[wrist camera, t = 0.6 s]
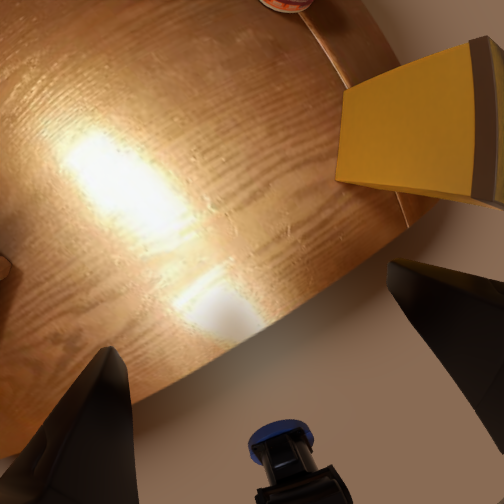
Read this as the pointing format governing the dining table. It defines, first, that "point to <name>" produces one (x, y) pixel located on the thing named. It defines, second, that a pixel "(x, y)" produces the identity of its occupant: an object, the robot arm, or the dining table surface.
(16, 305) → the dining table surface
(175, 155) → the dining table surface
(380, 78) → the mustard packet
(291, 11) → the pill bottle
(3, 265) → the birch rack
